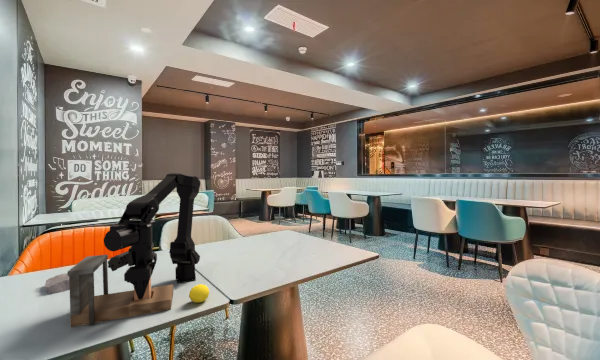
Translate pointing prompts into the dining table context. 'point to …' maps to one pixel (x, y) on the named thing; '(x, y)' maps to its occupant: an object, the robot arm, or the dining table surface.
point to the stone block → (58, 284)
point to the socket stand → (108, 296)
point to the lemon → (199, 293)
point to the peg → (147, 292)
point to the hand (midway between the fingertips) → (143, 292)
